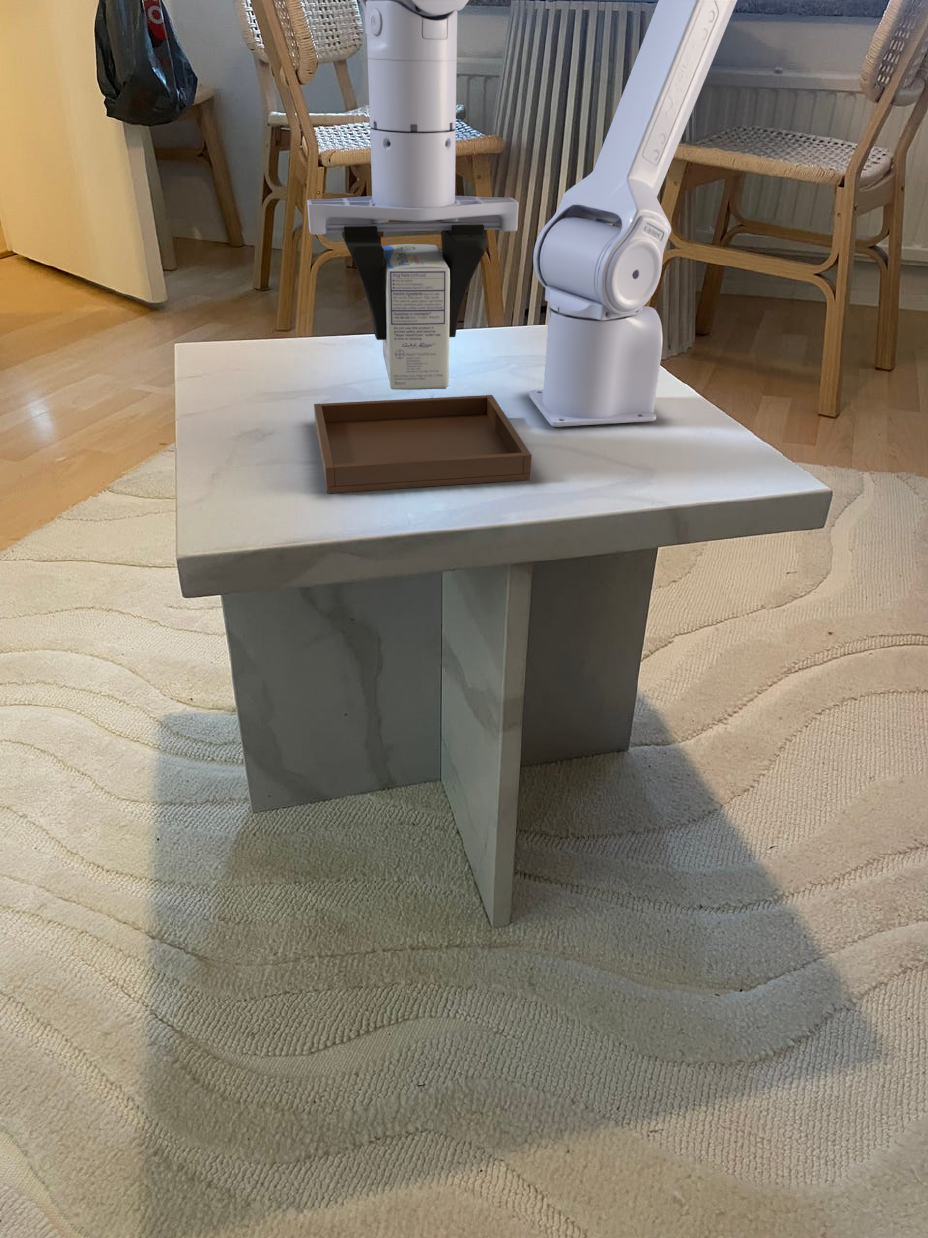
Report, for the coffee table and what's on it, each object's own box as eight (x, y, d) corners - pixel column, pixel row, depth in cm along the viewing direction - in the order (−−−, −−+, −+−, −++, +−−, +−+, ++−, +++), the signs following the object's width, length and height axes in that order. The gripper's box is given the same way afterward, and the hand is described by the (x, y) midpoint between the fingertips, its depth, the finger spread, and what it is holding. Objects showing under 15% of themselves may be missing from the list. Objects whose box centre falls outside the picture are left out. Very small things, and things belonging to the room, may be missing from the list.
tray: (491, 416, 79) (492, 394, 78) (530, 479, 69) (532, 455, 68) (315, 426, 77) (313, 403, 76) (327, 493, 66) (325, 468, 65)
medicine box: (449, 390, 67) (452, 266, 62) (388, 391, 66) (386, 266, 61) (437, 357, 73) (439, 243, 69) (381, 358, 73) (379, 242, 68)
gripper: (505, 123, 65) (497, 316, 73) (299, 122, 63) (313, 323, 70) (530, 133, 59) (519, 342, 67) (305, 133, 57) (319, 350, 64)
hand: (415, 334), depth 68 cm, fingers closed on medicine box, 4 cm apart
